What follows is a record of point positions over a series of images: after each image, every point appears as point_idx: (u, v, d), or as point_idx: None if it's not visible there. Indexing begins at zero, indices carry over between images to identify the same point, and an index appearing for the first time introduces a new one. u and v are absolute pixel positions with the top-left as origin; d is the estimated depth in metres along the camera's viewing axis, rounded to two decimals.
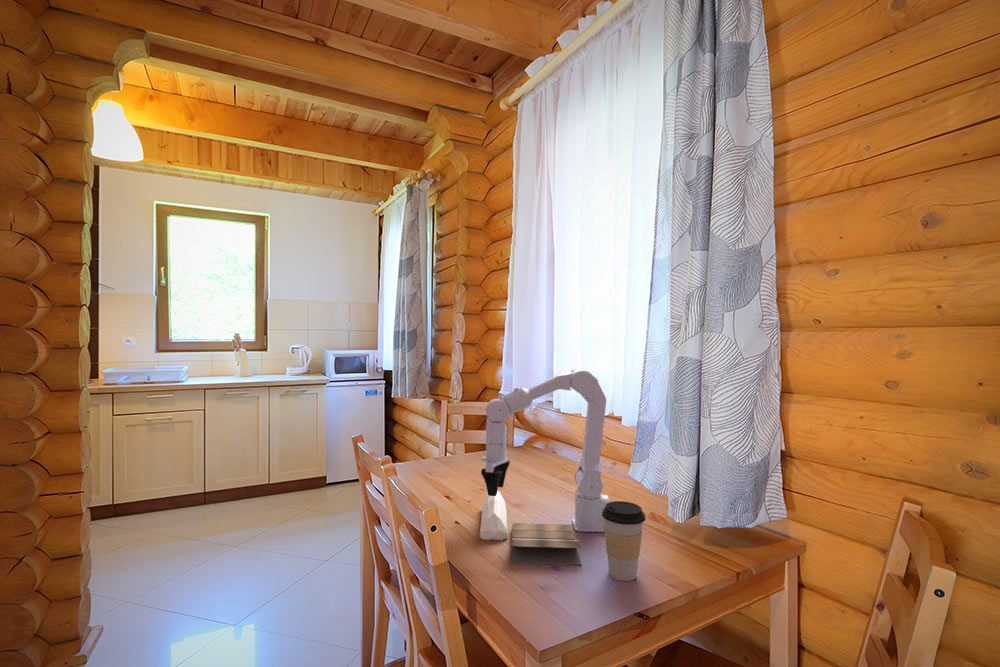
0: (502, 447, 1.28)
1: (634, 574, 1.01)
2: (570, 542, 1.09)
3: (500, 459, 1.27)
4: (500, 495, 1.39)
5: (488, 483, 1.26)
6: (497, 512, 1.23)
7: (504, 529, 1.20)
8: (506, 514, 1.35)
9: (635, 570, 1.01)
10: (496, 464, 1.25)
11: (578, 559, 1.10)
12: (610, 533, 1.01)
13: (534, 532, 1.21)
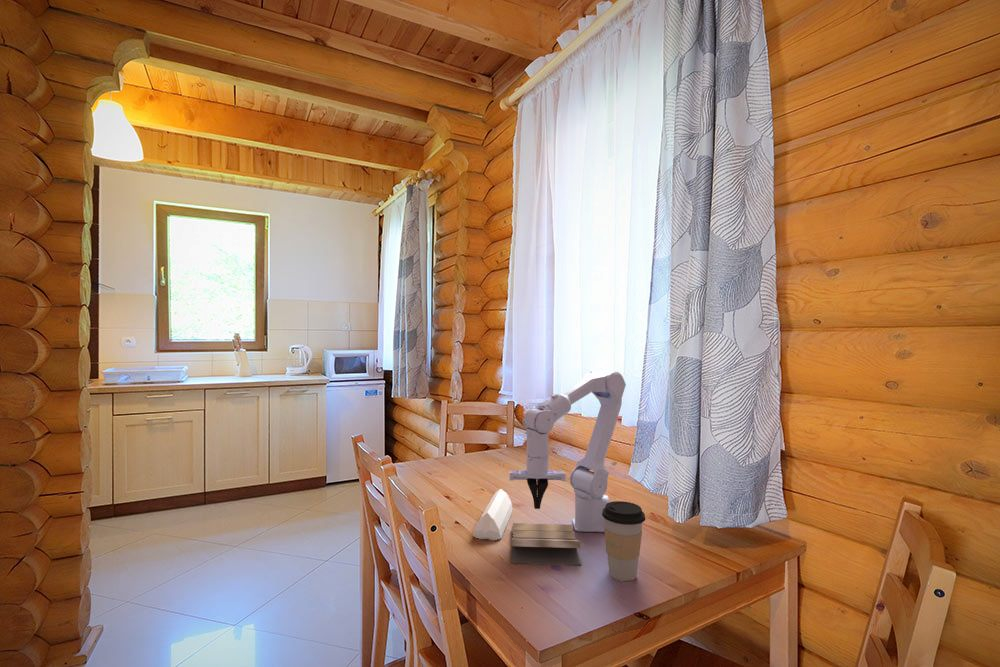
0: (531, 460, 1.19)
1: (634, 574, 1.01)
2: (570, 542, 1.09)
3: (529, 472, 1.19)
4: (505, 496, 1.39)
5: None
6: (492, 512, 1.23)
7: (497, 530, 1.20)
8: (509, 515, 1.35)
9: (635, 570, 1.01)
10: (518, 475, 1.19)
11: (578, 559, 1.10)
12: (610, 533, 1.01)
13: (534, 532, 1.21)
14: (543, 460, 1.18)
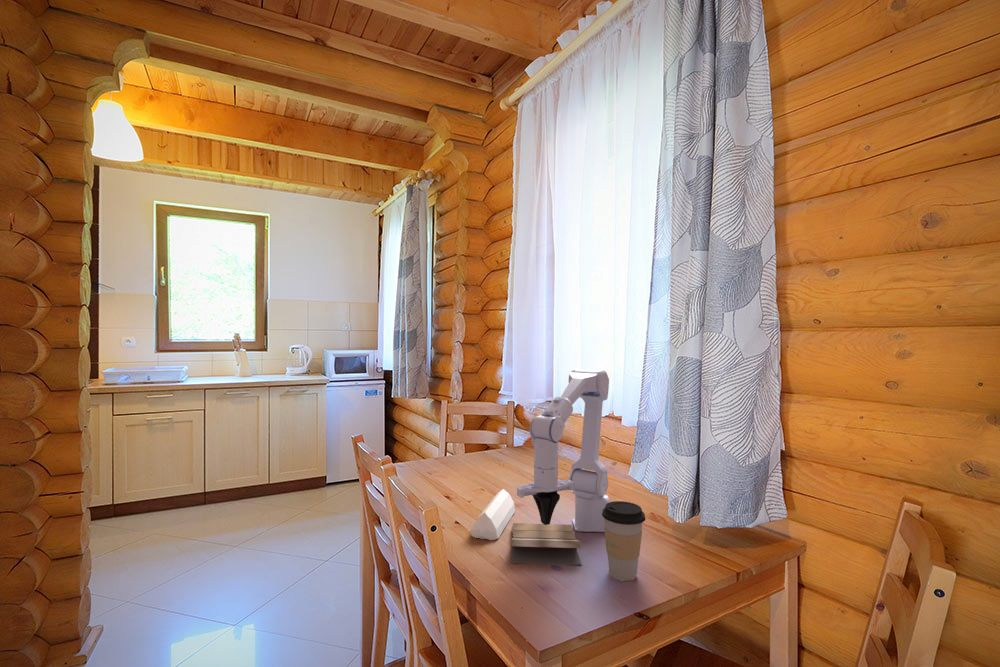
0: (544, 473, 1.08)
1: (634, 574, 1.01)
2: (570, 542, 1.09)
3: (541, 486, 1.08)
4: (507, 496, 1.39)
5: (540, 508, 1.11)
6: (490, 512, 1.23)
7: (494, 530, 1.20)
8: (510, 516, 1.34)
9: (635, 570, 1.01)
10: (530, 490, 1.08)
11: (578, 559, 1.10)
12: (610, 533, 1.01)
13: (534, 532, 1.21)
14: (556, 471, 1.09)
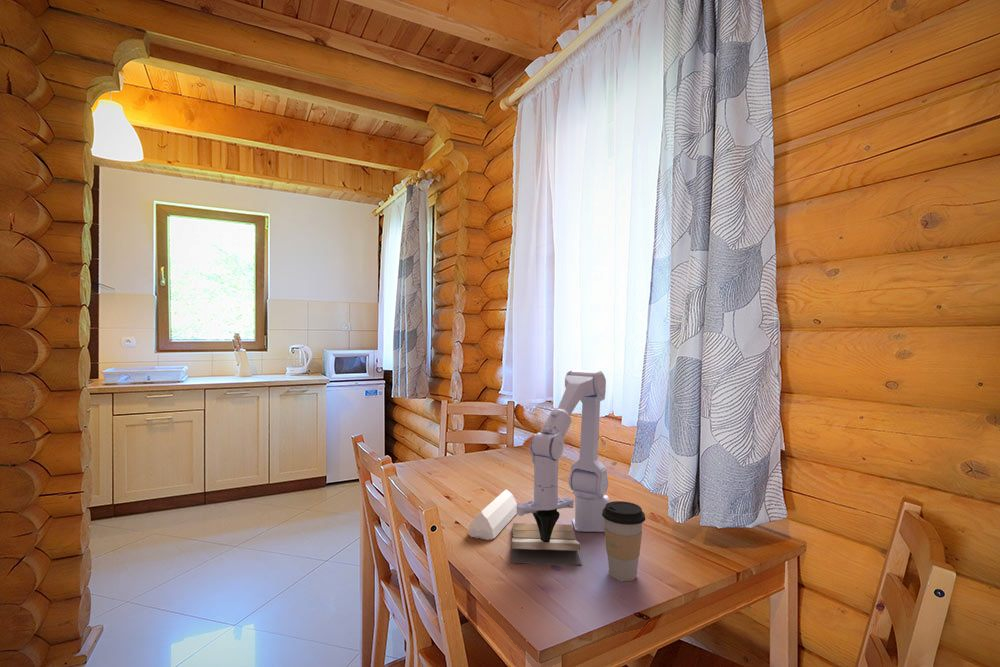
0: (544, 491, 1.08)
1: (634, 574, 1.01)
2: (570, 544, 1.08)
3: (541, 504, 1.08)
4: (510, 497, 1.38)
5: (540, 525, 1.11)
6: (487, 512, 1.23)
7: (490, 529, 1.20)
8: (511, 516, 1.34)
9: (635, 570, 1.01)
10: (530, 508, 1.07)
11: (578, 559, 1.10)
12: (610, 533, 1.01)
13: (534, 532, 1.21)
14: (556, 489, 1.09)
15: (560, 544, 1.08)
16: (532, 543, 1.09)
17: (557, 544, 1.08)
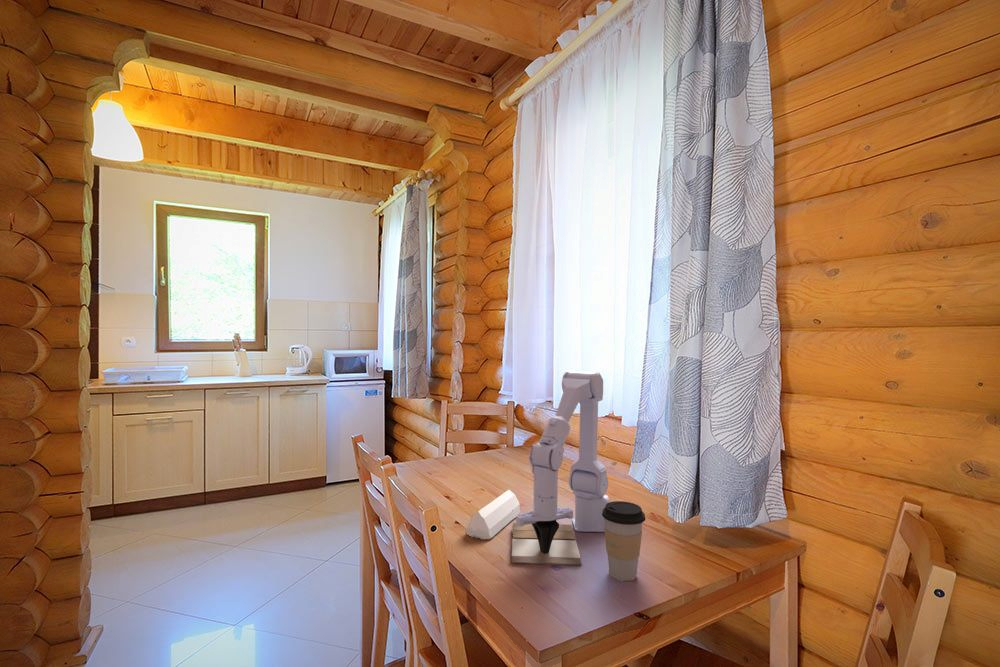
0: (544, 501, 1.08)
1: (634, 574, 1.01)
2: (570, 559, 1.07)
3: (541, 515, 1.08)
4: (512, 497, 1.38)
5: (539, 536, 1.11)
6: (485, 511, 1.24)
7: (486, 529, 1.20)
8: (512, 517, 1.33)
9: (635, 570, 1.01)
10: (529, 519, 1.07)
11: None
12: (610, 533, 1.01)
13: (534, 532, 1.21)
14: (555, 499, 1.09)
15: (560, 558, 1.08)
16: (532, 557, 1.08)
17: (557, 558, 1.08)
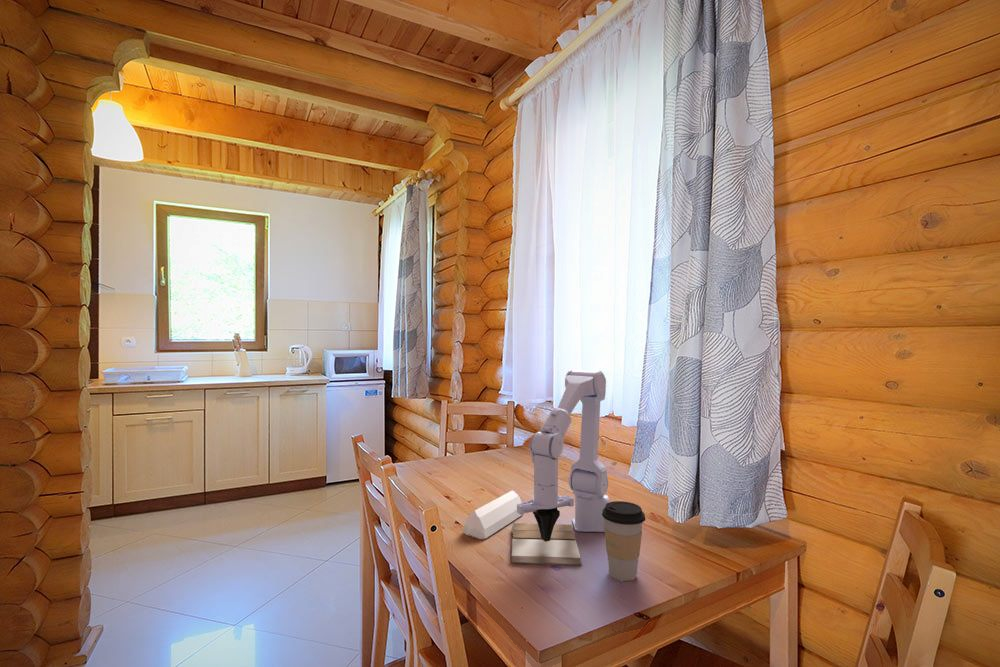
0: (544, 490, 1.08)
1: (634, 574, 1.01)
2: (570, 558, 1.07)
3: (541, 503, 1.08)
4: (515, 498, 1.37)
5: (540, 524, 1.11)
6: (482, 511, 1.24)
7: (481, 529, 1.20)
8: (513, 518, 1.33)
9: (635, 570, 1.01)
10: (530, 507, 1.08)
11: None
12: (610, 533, 1.01)
13: (534, 532, 1.21)
14: (556, 488, 1.09)
15: (560, 558, 1.08)
16: (532, 557, 1.08)
17: (557, 558, 1.08)
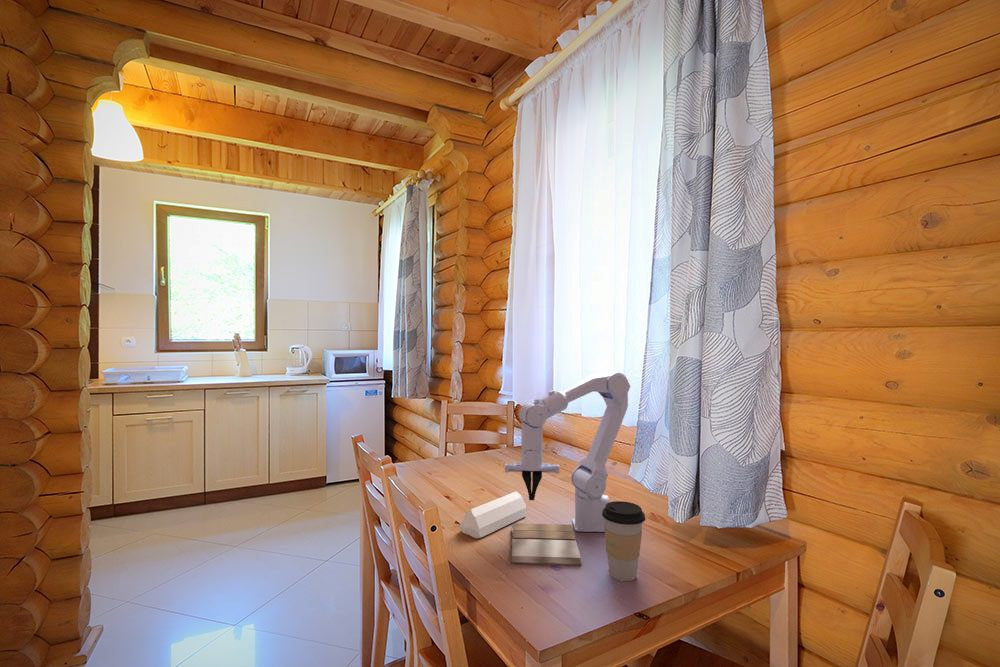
0: (525, 453, 1.22)
1: (634, 574, 1.01)
2: (570, 558, 1.07)
3: (524, 465, 1.23)
4: (518, 499, 1.36)
5: None
6: (479, 510, 1.24)
7: (476, 528, 1.21)
8: (514, 519, 1.32)
9: (635, 570, 1.01)
10: (513, 467, 1.23)
11: None
12: (610, 533, 1.01)
13: (534, 532, 1.21)
14: (537, 453, 1.22)
15: (560, 558, 1.08)
16: (532, 557, 1.08)
17: (557, 558, 1.08)
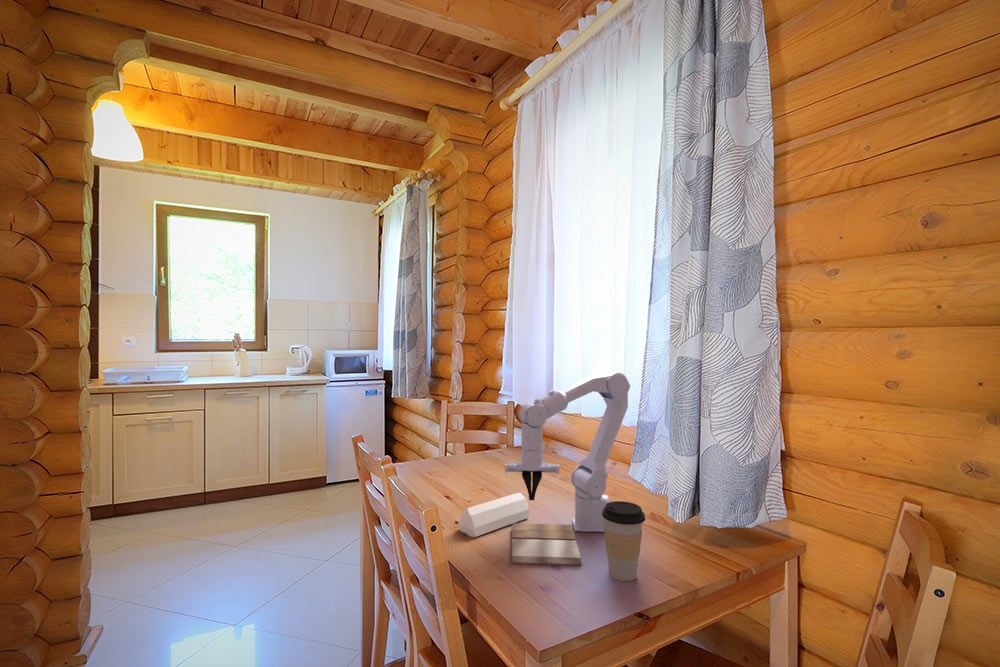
0: (525, 453, 1.22)
1: (634, 574, 1.01)
2: (570, 558, 1.07)
3: (524, 465, 1.23)
4: (521, 500, 1.35)
5: None
6: (476, 509, 1.25)
7: (472, 527, 1.22)
8: (515, 520, 1.31)
9: (635, 570, 1.01)
10: (513, 467, 1.23)
11: None
12: (610, 533, 1.01)
13: (534, 532, 1.21)
14: (537, 453, 1.22)
15: (560, 558, 1.08)
16: (532, 557, 1.08)
17: (557, 558, 1.08)
